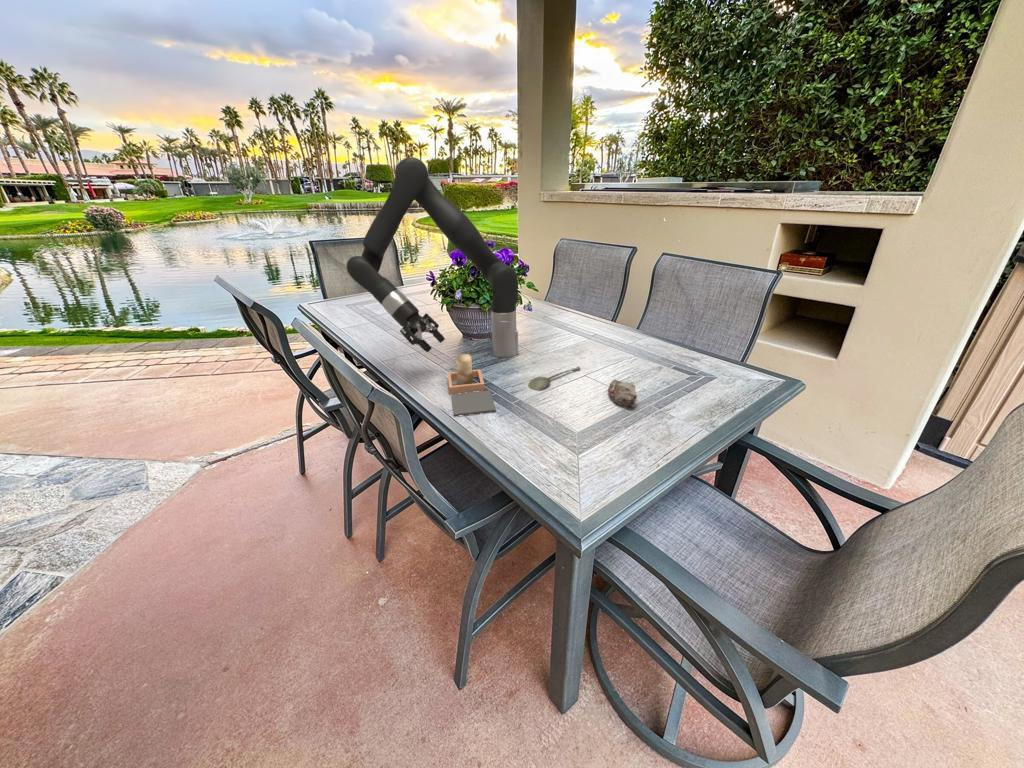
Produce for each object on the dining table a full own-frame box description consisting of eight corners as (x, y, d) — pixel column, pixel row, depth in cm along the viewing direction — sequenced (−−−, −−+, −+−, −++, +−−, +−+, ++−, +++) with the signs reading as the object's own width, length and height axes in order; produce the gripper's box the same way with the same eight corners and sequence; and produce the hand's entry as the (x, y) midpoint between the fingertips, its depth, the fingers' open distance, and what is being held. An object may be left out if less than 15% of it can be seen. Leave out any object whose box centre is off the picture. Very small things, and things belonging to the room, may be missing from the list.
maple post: (472, 381, 131) (470, 353, 127) (474, 387, 127) (471, 359, 122) (458, 382, 130) (455, 354, 126) (459, 389, 126) (456, 360, 122)
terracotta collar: (480, 375, 134) (480, 369, 133) (484, 390, 125) (484, 383, 124) (448, 379, 133) (447, 372, 132) (449, 394, 123) (449, 387, 122)
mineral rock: (607, 385, 126) (608, 373, 124) (633, 387, 124) (635, 375, 122) (607, 409, 113) (608, 396, 111) (636, 411, 112) (637, 398, 110)
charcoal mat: (490, 392, 124) (490, 390, 123) (495, 411, 113) (495, 409, 113) (451, 396, 122) (451, 394, 121) (454, 416, 111) (453, 414, 111)
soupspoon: (523, 388, 128) (536, 396, 124) (523, 379, 126) (536, 387, 122) (572, 367, 139) (586, 374, 135) (572, 358, 138) (586, 365, 133)
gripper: (392, 306, 116) (431, 346, 118) (418, 294, 128) (453, 331, 130) (380, 322, 120) (418, 361, 122) (406, 309, 132) (440, 344, 134)
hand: (436, 345), depth 126 cm, fingers open, 8 cm apart
